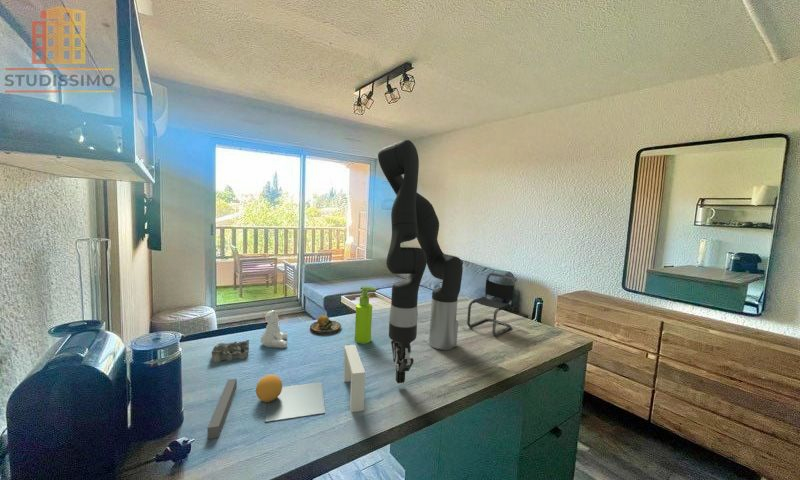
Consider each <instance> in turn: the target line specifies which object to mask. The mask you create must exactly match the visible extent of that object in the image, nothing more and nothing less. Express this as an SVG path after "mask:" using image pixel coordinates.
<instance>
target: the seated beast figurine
mask: <svg viewBox="0 0 800 480" xmlns="http://www.w3.org/2000/svg"><path fill="white" fill-rule="evenodd" d="M264 318H265V321H266V322H267V324H266V327H265V331H264V332H263V334H261V337H260V343H261V344H262V345H263V346H265V347H266V348H275V349H286V348H287V347H288V342H287V341H285V340H287V339H288V333H286V332H282V331H281V330H280V326H279V321H280V319H279V314H277V312H276V311H275V310H274V309H271V310H270V311H268V312H266V314H265V316H264Z"/></svg>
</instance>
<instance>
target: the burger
mask: <svg viewBox="0 0 800 480" xmlns="http://www.w3.org/2000/svg"><path fill="white" fill-rule="evenodd" d="M341 328H342V325H341V323H340V322H337V321H336V320H330V319H329V316H328V315H326V314H325V315H324V314H323V315H321V314H320V316H319V317H318V318H317V321H315V322H313V323H311V324H310V327H309V331H310V333H312V334H315V335H320V336H327V335H333V334H337V333H339V332H340V329H341Z"/></svg>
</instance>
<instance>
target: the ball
mask: <svg viewBox="0 0 800 480" xmlns="http://www.w3.org/2000/svg"><path fill="white" fill-rule="evenodd" d="M282 387H283V382H282V380H281V378H280V377H278V376H277V375H275V374H268V375H265V376H263V377H262V378H260V380H258V382H257V384H256V387H255V393H256V396H257V398H258V399H259V400H260V401H262V402H266V403H268V402H269V401H273V400H274V399H276V398H277V397H278V396H279V395H280V393H281V391H282Z"/></svg>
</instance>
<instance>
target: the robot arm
mask: <svg viewBox="0 0 800 480" xmlns="http://www.w3.org/2000/svg"><path fill="white" fill-rule="evenodd" d="M377 153H378V154H377V159H378V163H379V166H380V169H381V171H382V173H383V174H384V176H385V178H386V180H387V181H388V183H389V185H390V187H391V188H392V191H393V192H394V194H395V195H396V196H395V199H394V201H393V204H392V206H391V215H390V216H391V218H390V219H391V220H390V221H391V240H390V245H389V248H388V253H387V256H386V261H385V262H386V268H387V269H388V271H389V273H391V274H393V275H407V274H408V275H409V276H408V277H407V278H405V279H404V280H400V281H396V282H394V283H393V284H392V288H391V300H390V301H391V302H390V309H389V318H388V319H389V320H388V321H389V322H388V337H389V339H390V344H391V352H392V360H393V363H394V367H395V381H396V383H397V384H404V383H405V382H406V372H409V371H410V370H411V368H412V366H413V364H414V362H415V361H414V358H412V357H410V355H411V351H412V347H411V343H412V342H414V341H416V339H417V331H418V318H419V317H418V316H419V315H418V312H419V311H418V300H419V290H420V285H421V281H422V279H423V275H424V273H425V270H426V267H427V269H428V270H429V272H430V274H431V276H433V278H435V279H438V280H441V281H442V282H441V283H442V285H441V287H436V288H434V289H433V290H432V293H431V307H430V324H429V336H428V344H429V346H430V347H432V348H433V349H437V350H439V351H440V350H442V351H449V350H452V349H454V348H457V343H458V333H459V332H458V331H459V321H458V320H457V314H458V313H457V311H458V300H459V299H458V298H459V294H460V292H461V287H462V281H463V280H462V279H463V272H464V271H463V267H464V266H463V262H462V260H461V258H460V257H459V256H456V255H451V254H446V253H444V252H443V251H442V249H441V247H440V244H439V241H438V236H439V231H440V221H439V217H438V215H437V213H436V211H435V209H434V206H433V204H432V203H431V202H430V201H429V200H428V199H427V198H425V197H424V196H423V195H421V194H420V193H418V192H417V191H418V183H419V182H418V181H419V168H420V167H419V165H420V160H419V154H418V150H417V147H416V145H415V144H414V143H413V142H412V140H410V139H404V140H401V141H398V142H395V143H392V144H390V145H388V146H385V147H383V148H380V149H379V151H378V152H377ZM415 239H416V240H417V242H418V244H419V246H420V247H413V246H412V247H406V246H403V247H402V246H401V244H403V243H406V242H410V241H414V240H415Z"/></svg>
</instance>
